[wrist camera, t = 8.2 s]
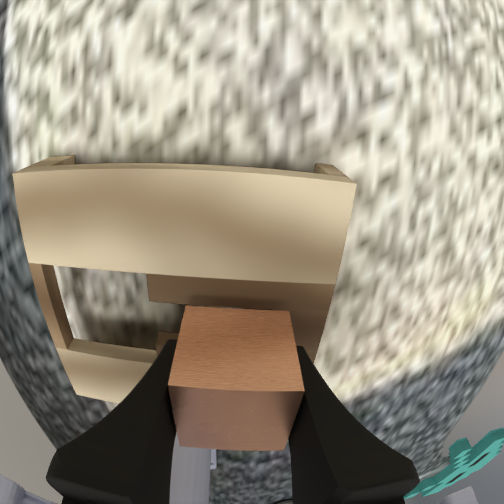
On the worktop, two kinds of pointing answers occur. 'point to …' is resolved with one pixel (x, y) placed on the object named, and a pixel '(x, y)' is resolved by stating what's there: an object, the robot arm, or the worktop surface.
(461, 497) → the robot arm
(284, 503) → the soda can
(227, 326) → the headed peg
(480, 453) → the alien figure
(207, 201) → the tan piece
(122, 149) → the worktop surface
